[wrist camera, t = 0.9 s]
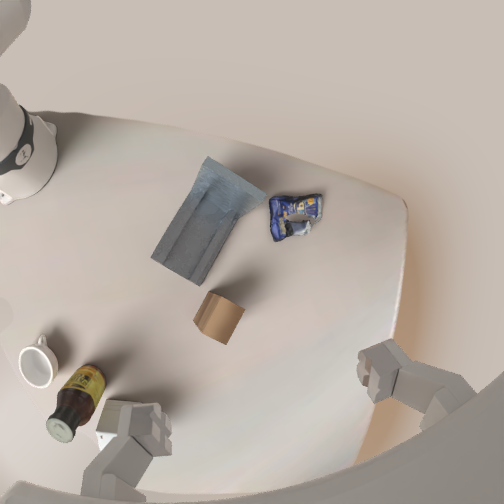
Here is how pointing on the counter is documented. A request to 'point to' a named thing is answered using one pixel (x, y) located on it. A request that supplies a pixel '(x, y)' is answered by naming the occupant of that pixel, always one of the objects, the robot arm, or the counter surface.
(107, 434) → the supplement box
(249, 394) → the counter surface
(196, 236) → the track
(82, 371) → the sauce bottle
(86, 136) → the counter surface
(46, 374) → the teacup
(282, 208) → the snack package
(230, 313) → the tan wooden block
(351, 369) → the counter surface
